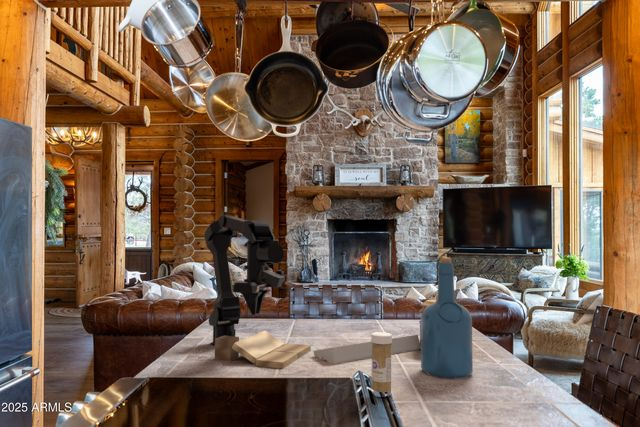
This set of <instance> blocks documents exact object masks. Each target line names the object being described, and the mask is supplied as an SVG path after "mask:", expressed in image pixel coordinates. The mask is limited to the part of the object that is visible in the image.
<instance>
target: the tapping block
mask: <svg viewBox="0 0 640 427" xmlns="http://www.w3.org/2000/svg"><path fill="white" fill-rule="evenodd" d="M238 341H240V337H239V336H236V335H235V336H222V337H219V338H216V339H215V345H214V361H219V362H220V361H221V362H228V363H230V362H233V361H235V360H236V359H238V358H239V355H240V353H238V352H237V351H235V350H234V349H233V348H232V346H233V344H234V343H235V342H238Z"/></svg>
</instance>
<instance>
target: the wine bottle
mask: <svg viewBox="0 0 640 427" xmlns="http://www.w3.org/2000/svg"><path fill="white" fill-rule="evenodd" d="M436 275H437V276H438V278H437V279H438V280H437V294H438V299H437V301H436V302H435V303H433V304H431V305H429V306H427V307H426V308H425V309H424V311H423V313H422V315H421V314H420V320H421V348H420V364H421V365H420V366H421V370H422V372H423V373H425V374H427V375H430V376H433V377H435V378H436V377H437V378H440V379H442V378H443V379H451V380H453V379H464V378H467V377H470V376H472V374H473V371H474V370H473V367H474V366H473V318H472V315H471V313H470V312H469V310H468V309H467V308H466V307H464V306H463V305H461V304H459V303H458V302H457V301H456V299H455V281H454V279H455V278H454V276H455V271H454V263H453V262H452V258H451V257H446V256H445V257H440V262H438V268H437V274H436Z"/></svg>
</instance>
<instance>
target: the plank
mask: <svg viewBox="0 0 640 427" xmlns="http://www.w3.org/2000/svg"><path fill="white" fill-rule="evenodd" d="M285 344H286V343H284V342H283V341H281V340H280V339H278V338H277V337H275V336H274V335H272V334H271V333H269V331H266V330H262V331H260V332H257V333H254V334H253V335H250V336H247V337H244V338H243V339H239V341H238V342H235V343H234V344H233V346H232V348H233V349H234V350H235V351H237V352H238V353H239V355H241V356H242V357H244V358H246V359H247V360H248V361H249V362H251V363H253V364H255V365H256V359H258V358H260V357H262V356H264V355H266V354H268V353H270V352H272V351H273V350H275V349H277V348H279V347H281V346H283V345H285Z"/></svg>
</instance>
